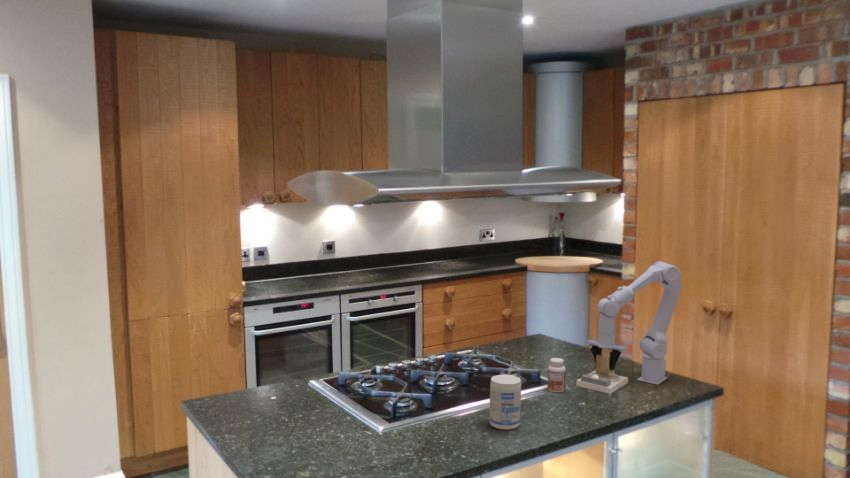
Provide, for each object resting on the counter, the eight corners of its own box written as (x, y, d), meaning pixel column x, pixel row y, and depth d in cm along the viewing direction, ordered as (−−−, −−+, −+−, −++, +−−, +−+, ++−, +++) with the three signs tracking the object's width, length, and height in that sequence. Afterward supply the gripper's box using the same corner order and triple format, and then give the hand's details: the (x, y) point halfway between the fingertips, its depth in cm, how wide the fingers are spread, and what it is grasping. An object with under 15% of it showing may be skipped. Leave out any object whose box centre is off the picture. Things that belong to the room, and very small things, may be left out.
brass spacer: (601, 370, 260) (602, 351, 259) (614, 373, 257) (615, 354, 256) (595, 373, 256) (596, 354, 255) (608, 376, 253) (609, 357, 252)
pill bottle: (555, 385, 254) (556, 356, 252) (568, 390, 249) (569, 360, 248) (543, 389, 250) (544, 359, 248) (557, 394, 245) (558, 363, 244)
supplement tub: (503, 433, 212) (504, 386, 210) (482, 423, 219) (483, 378, 217) (526, 425, 218) (527, 380, 216) (505, 416, 225) (506, 372, 223)
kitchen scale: (595, 375, 265) (595, 362, 265) (627, 382, 257) (628, 369, 256) (576, 385, 254) (576, 371, 253) (610, 393, 246) (610, 379, 245)
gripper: (583, 330, 256) (582, 366, 258) (621, 337, 247) (619, 374, 249) (592, 326, 261) (590, 362, 263) (629, 333, 252) (627, 370, 254)
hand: (605, 368), depth 256 cm, fingers closed on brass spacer, 5 cm apart
